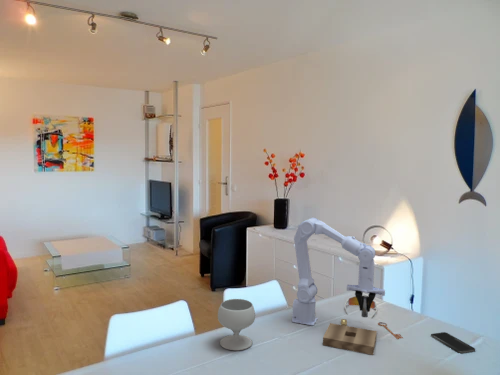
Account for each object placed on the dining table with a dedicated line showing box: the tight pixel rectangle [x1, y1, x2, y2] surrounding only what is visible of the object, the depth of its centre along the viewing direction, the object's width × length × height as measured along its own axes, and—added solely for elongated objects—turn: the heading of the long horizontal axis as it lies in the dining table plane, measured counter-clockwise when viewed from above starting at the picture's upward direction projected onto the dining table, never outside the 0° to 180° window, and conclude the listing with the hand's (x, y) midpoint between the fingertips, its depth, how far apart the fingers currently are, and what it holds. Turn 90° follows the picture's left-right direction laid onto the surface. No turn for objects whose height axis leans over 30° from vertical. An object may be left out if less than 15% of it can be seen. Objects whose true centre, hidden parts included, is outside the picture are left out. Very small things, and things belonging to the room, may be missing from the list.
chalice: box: [217, 298, 256, 351], centre depth 146 cm, size 14×14×15 cm
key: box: [377, 321, 404, 340], centre depth 160 cm, size 6×1×15 cm
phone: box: [430, 331, 476, 355], centre depth 149 cm, size 8×1×15 cm
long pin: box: [361, 295, 369, 318], centre depth 156 cm, size 2×2×8 cm
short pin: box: [340, 318, 348, 326], centre depth 160 cm, size 2×2×4 cm
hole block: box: [322, 322, 378, 356], centre depth 149 cm, size 18×14×3 cm
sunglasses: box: [344, 295, 378, 319], centre depth 180 cm, size 14×15×5 cm
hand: (364, 310), depth 156 cm, fingers closed on long pin, 2 cm apart
